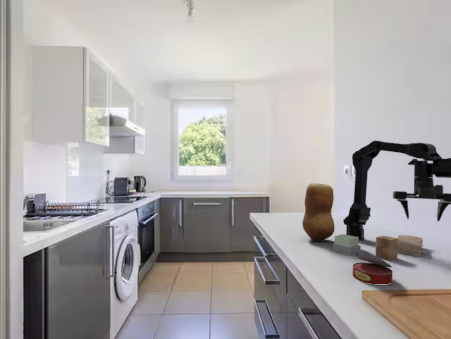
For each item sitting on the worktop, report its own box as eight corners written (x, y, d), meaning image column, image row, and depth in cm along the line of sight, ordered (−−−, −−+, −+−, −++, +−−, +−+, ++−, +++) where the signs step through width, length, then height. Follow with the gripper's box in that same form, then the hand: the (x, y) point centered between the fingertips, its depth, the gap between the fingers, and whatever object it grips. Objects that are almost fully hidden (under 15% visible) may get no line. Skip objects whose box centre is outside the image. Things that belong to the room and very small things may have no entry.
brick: (421, 257, 101) (421, 244, 101) (394, 253, 106) (394, 240, 106) (422, 248, 115) (422, 237, 115) (398, 245, 119) (398, 234, 120)
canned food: (351, 290, 82) (343, 255, 86) (388, 288, 81) (378, 253, 85) (363, 285, 72) (353, 246, 77) (405, 283, 71) (392, 243, 76)
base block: (332, 251, 106) (332, 243, 107) (342, 249, 111) (343, 241, 111) (350, 256, 101) (350, 248, 101) (360, 253, 105) (360, 245, 105)
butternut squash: (338, 244, 116) (339, 184, 116) (306, 243, 116) (307, 183, 117) (327, 237, 130) (328, 183, 130) (298, 236, 130) (299, 182, 130)
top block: (334, 244, 106) (334, 236, 106) (343, 241, 110) (343, 234, 110) (349, 247, 101) (349, 239, 101) (358, 245, 105) (358, 237, 105)
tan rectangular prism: (375, 256, 100) (376, 237, 100) (382, 254, 103) (382, 235, 103) (390, 260, 96) (391, 240, 96) (397, 258, 99) (397, 238, 99)
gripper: (396, 176, 100) (396, 220, 100) (463, 178, 92) (462, 226, 92) (392, 176, 110) (392, 216, 110) (452, 178, 102) (451, 221, 102)
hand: (422, 219), depth 103 cm, fingers open, 9 cm apart
